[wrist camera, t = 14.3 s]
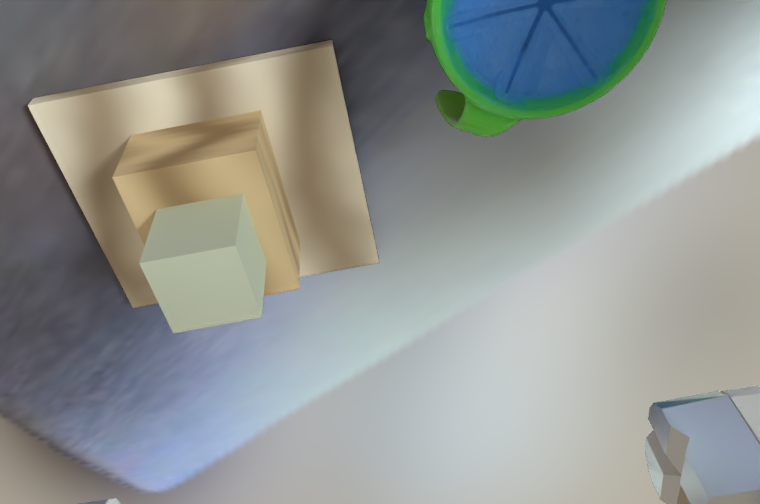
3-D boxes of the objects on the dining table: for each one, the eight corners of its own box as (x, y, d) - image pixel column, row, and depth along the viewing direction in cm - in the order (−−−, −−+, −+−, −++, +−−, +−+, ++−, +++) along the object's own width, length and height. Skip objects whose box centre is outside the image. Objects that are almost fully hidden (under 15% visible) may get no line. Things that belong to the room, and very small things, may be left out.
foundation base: (332, 39, 40) (335, 80, 35) (377, 254, 50) (385, 309, 45) (33, 98, 41) (-5, 146, 36) (135, 298, 50) (117, 358, 45)
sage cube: (243, 193, 39) (235, 245, 35) (266, 261, 42) (261, 317, 38) (156, 209, 39) (139, 263, 35) (186, 276, 42) (173, 333, 38)
